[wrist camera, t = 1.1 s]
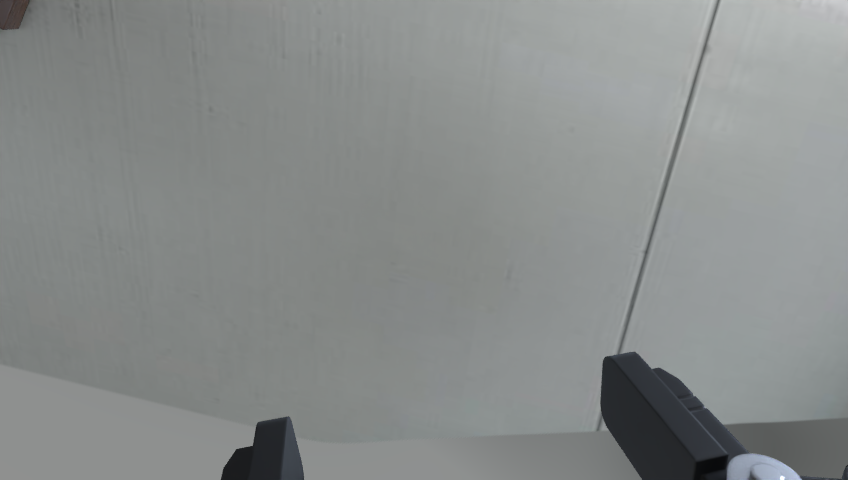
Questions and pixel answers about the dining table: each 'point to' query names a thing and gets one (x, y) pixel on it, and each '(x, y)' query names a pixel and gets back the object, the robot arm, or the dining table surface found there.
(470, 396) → the dining table surface
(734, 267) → the dining table surface
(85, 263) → the dining table surface
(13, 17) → the stand
